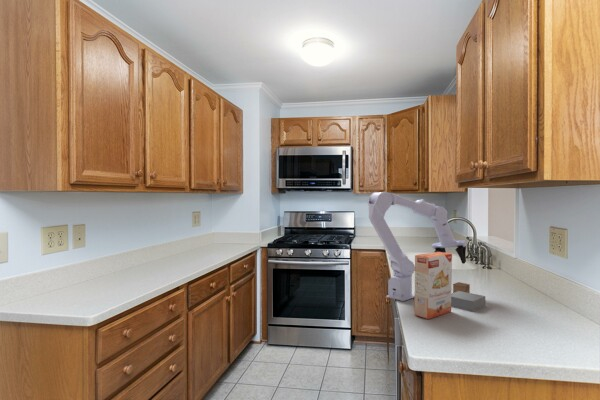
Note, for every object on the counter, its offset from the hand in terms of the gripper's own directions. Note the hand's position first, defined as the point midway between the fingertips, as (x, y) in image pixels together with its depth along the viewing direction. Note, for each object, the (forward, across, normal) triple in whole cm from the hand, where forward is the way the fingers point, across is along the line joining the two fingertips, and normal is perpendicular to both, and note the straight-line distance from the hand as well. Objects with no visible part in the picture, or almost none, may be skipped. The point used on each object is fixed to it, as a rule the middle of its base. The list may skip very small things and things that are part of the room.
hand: (455, 262), depth 150 cm
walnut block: (+12, -1, +6) cm, 13 cm away
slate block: (+10, -8, +17) cm, 21 cm away
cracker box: (+3, -6, +33) cm, 34 cm away
